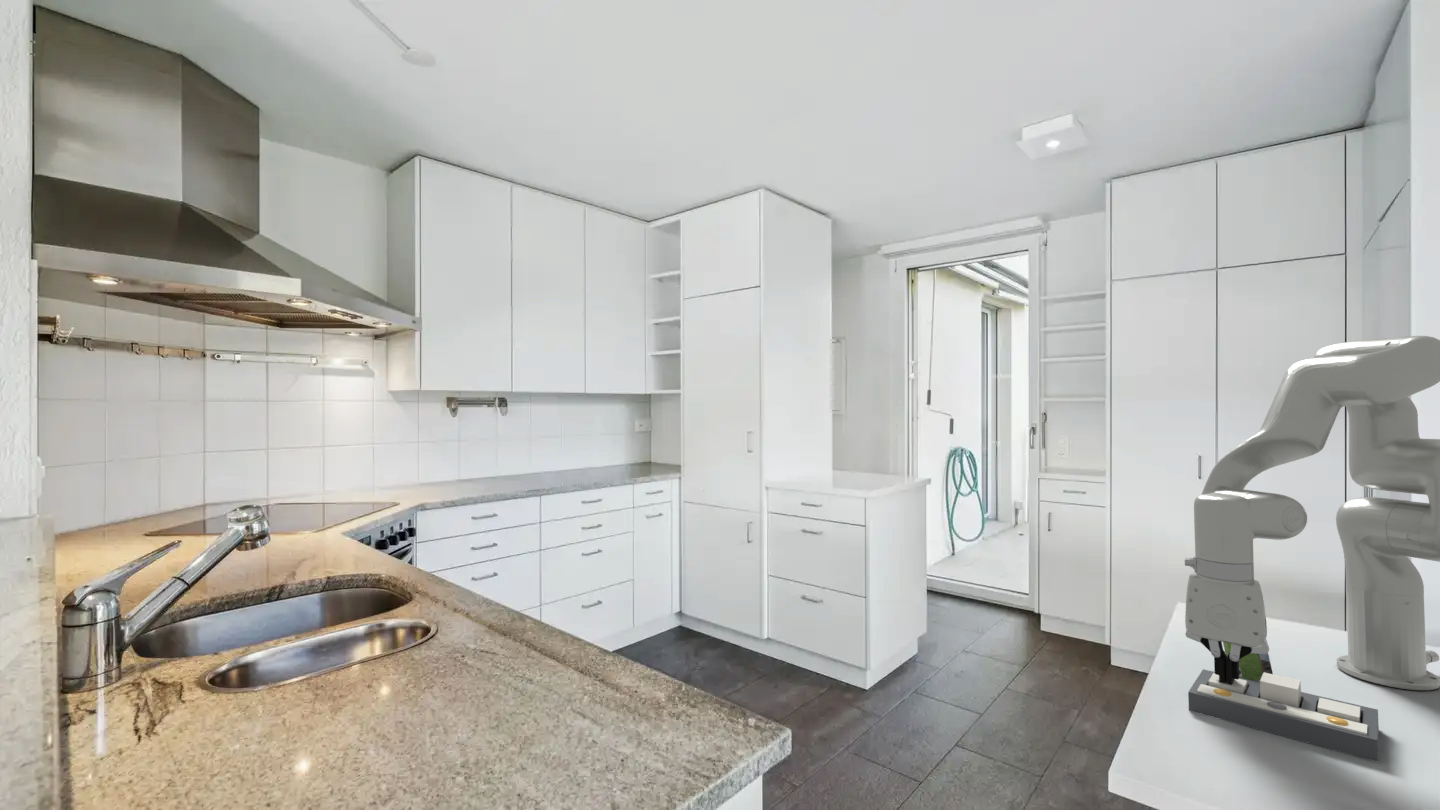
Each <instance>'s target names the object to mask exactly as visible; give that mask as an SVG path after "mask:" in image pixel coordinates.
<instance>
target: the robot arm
mask: <svg viewBox="0 0 1440 810" xmlns="http://www.w3.org/2000/svg"><path fill="white" fill-rule="evenodd" d="M1438 383H1440V339H1438V338H1436V337H1434V336H1428V335H1410V336H1409V335H1407V336H1398V337H1388V338H1377V339H1376V338H1375V339H1365V340H1364V339H1362V340H1353V341H1351V340H1350V341H1344V342H1343V341H1342V342H1339V343H1338V342H1337V343H1333V344H1331V345H1327V346H1323V347H1321V348H1320V349H1319V350H1317V352H1316V353H1315V354H1314V357H1311V358H1310V357H1309V358H1305V359H1302V360H1298V361H1297V362H1294V363H1292V364H1291V365H1290V366H1289V367H1288V369H1287V370H1286V371H1285V373H1284V375H1283V377H1282V379H1281V382H1280V384H1279V386H1278V389H1277V391H1276V393H1275V395H1274V396H1273V400H1272V403H1271V405H1270V407H1269V409H1268V411H1267V413H1266V416H1265V417H1264V420H1263V422H1262V424H1261V427H1260V429H1259V430H1258V432H1257V433H1255V434H1254V435H1252V436H1250V437H1249V438H1247V439H1246V440H1244V441H1243V442H1241V443H1239V444H1238V445H1237V446H1236V447H1234V448H1233V449H1231V450H1230V451H1229V452H1228V453H1226V454H1225V455H1224V456H1223V457H1221V458H1220V459H1219V461H1218V462H1217V463H1216V464H1215V465H1214V466H1213V468H1212V470H1211V471H1210V473H1209V476H1208V478H1207V479H1206V482H1205V485H1204V487H1203V489H1202V492H1201V494H1200V495H1198V496H1197V497H1196V498H1195V499H1194V502H1193V521H1194V524H1193V525H1194V526H1193V527H1194V528H1193V529H1194V552H1195V553H1194V556H1193V557H1190V558H1188V557H1185V558H1184V566H1185V567H1190V568H1192V569H1193V571H1194V572H1192V573H1191V574H1189V575H1188V576H1189V577H1188V582H1187V587H1186V597H1185V617H1184V618H1185V621H1184V622H1185V630H1186V631H1185V637H1186V638H1187V639H1190V640H1193V641H1195V642H1197V643H1201V644H1202V645H1203V646H1204V647H1205V648H1206V650H1207V651H1209V652H1210V654H1211V656H1212V657H1214V658H1213V662H1214V666H1213V667H1214V669H1213V670H1214V672H1215V674H1216V675H1219V682H1221V683H1225V682H1226V683H1228V684H1229V685H1232V684H1233V682H1234V680H1235V679H1237V680H1238V679H1239V659H1241V658H1243V657H1244V656H1246V655H1248V654H1250V653H1254V654H1267V653H1268V654H1269V651H1270V647H1269V644H1268V640H1267V635H1268V632H1267V631H1268V628H1267V627H1268V626H1267V618H1266V617H1267V615H1266V608H1265V607H1266V605H1265V601H1264V596H1263V592H1262V588H1261V584H1260V582H1259V581H1258V580H1256V579H1255V566H1254V565H1255V564H1254V563H1255V562H1254V539H1263V540H1264V539H1265V540H1275V541H1278V540H1279V541H1280V540H1281V541H1282V540H1283V541H1284V540H1288V539H1292V538H1295V537H1296V536H1298V535H1300V534H1301V533H1302V532H1303V531H1304V529H1305V528H1306V526H1307V524H1308V514H1307V511H1306V509H1305V508H1304V506H1303V505H1302V504H1301V503H1300V502H1299V501H1298V500H1296V499H1294V498H1293V497H1291V496H1287V495H1284V494H1280V493H1273V492H1266V491H1256V490H1249V489H1245V488H1246V486H1247V485H1248V484H1249V483H1250V481H1252V480H1253V479H1254V478H1255V477H1257V476H1258V475H1259V474H1261V473H1263V472H1265V471H1267V470H1270V469H1273V468H1275V467H1277V466H1281V465H1286V464H1287V463H1288V464H1289V463H1291V462H1292V463H1293V462H1296V461H1299V460H1301V459H1302V460H1303V459H1304V458H1308V457H1310V456H1311V457H1312V456H1314V455H1315V454H1318V453H1320V452H1321V451H1323V450H1324V448H1325V446H1326V443H1327V441H1328V438H1329V436H1330V433H1331V431H1332V429H1333V427H1334V424H1335V421H1336V419H1337V417H1338V415H1339V412H1340V411H1341V409H1342V408H1343V407H1345V408H1346V410H1347V414H1348V423H1349V424H1348V426H1349V427H1348V428H1349V429H1348V468H1349V474H1350V477H1351V479H1352V481H1354V482H1355V484H1357V485H1358V486H1360V487H1363V488H1367V489H1371V490H1378V491H1386V492H1387V491H1388V492H1393V493H1394V492H1395V493H1403V494H1416V495H1425V496H1427V497H1428V499H1427V500H1428V502H1420V501H1410V500H1405V499H1394V498H1385V497H1375V496H1374V497H1371V496H1365V497H1356V498H1352V499H1349V500H1346V501H1345V502H1344V503H1342V504H1341V505H1340V507H1338V510H1337V511H1336V516H1335V522H1336V524H1335V525H1336V529H1337V533H1338V536H1339V539H1340V542H1341V546H1342V551H1343V558H1344V565H1345V568H1344V569H1345V595H1346V596H1345V597H1346V599H1345V600H1346V622H1347V624H1346V625H1347V628H1346V629H1347V655H1342V656H1339V657H1337V658H1336V666H1337V668H1338V669H1339V670H1341V671H1342V672H1344V673H1345V674H1347V675H1350V676H1352V677H1354V678H1357V679H1360V680H1363V681H1366V682H1369V683H1373V684H1376V685H1381V686H1386V687H1391V688H1397V689H1401V690H1410V691H1411V690H1412V691H1434V690H1436V689H1439V688H1440V678H1439V677H1438V676H1437V675H1436V674H1434V673H1433V672H1431V671H1428V670H1427V665H1428V664H1430V663H1435V662H1438V661H1439V660H1440V656H1439V654H1438V653H1437V652H1436V651H1434V650H1427V649H1426V629H1425V628H1426V621H1425V620H1426V619H1425V615H1426V614H1425V587H1424V586H1425V585H1424V581H1423V578H1422V575H1421V574H1420V572H1419V570H1418V568H1417V567H1416V566H1415V564H1414V563H1413V562H1412V561H1411V559H1410V558H1415V559H1421V560H1426V561H1433V562H1438V563H1440V439H1439V438H1421V437H1420V435H1419V434H1420V433H1419V419H1418V418H1419V415H1418V409H1417V407H1416V405H1415V403H1414V402H1413V400H1411V398H1410V396H1412V395H1414V394H1417V393H1420V392H1421V391H1425V390H1426V389H1430V388H1432V387H1433V386H1435V385H1437V384H1438ZM1409 557H1410V558H1409ZM1223 642H1226V643H1231V650H1230V653H1229V654H1228V657H1227V655H1226V654H1225V649H1224V645H1223Z"/></svg>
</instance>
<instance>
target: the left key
mask: <svg viewBox="0 0 1440 810" xmlns="http://www.w3.org/2000/svg"><path fill="white" fill-rule="evenodd" d="M1208 682H1209V686H1213V687H1217V688H1221V689H1225V690H1229V691H1233V692H1237V693H1242V694H1246V692H1247V681H1246V680H1242V679H1238V680H1237V679H1235V680H1234V682H1233V684H1232V685H1229V684H1228V683H1226V682H1225V683H1221V682H1219V675H1216V674H1215V673H1213V674H1212V676H1211V678H1210V679H1209V681H1208Z"/></svg>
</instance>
